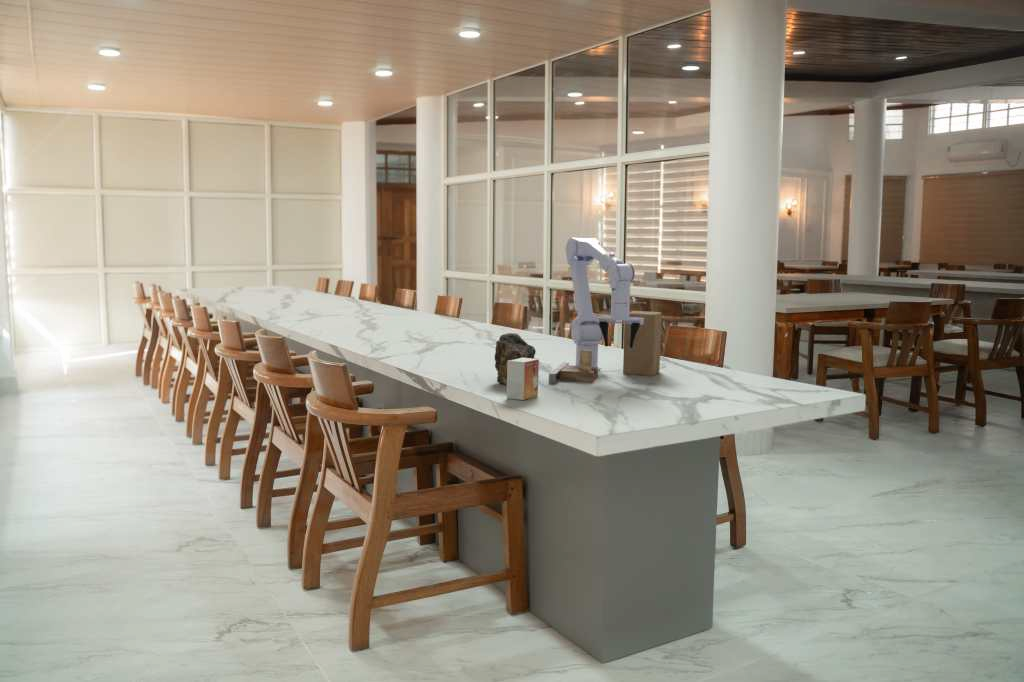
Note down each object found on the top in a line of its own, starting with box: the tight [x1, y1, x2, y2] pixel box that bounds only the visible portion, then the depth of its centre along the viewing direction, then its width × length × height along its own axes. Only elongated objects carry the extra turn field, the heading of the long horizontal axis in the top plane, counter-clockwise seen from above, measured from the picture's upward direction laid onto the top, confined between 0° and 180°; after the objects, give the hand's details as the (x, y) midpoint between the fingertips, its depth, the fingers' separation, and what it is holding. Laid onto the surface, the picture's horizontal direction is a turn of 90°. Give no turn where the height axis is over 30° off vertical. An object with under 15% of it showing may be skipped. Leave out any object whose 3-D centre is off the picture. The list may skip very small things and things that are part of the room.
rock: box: [494, 332, 537, 387], centre depth 257 cm, size 14×13×15 cm
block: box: [559, 364, 599, 383], centre depth 267 cm, size 12×10×3 cm
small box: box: [506, 358, 540, 401], centre depth 234 cm, size 8×6×10 cm
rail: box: [548, 362, 570, 385], centre depth 268 cm, size 24×2×3 cm, turn 167°
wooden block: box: [622, 310, 663, 377], centre depth 279 cm, size 10×10×20 cm
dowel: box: [580, 350, 592, 371], centre depth 266 cm, size 4×4×9 cm
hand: (618, 346), depth 265 cm, fingers open, 7 cm apart
